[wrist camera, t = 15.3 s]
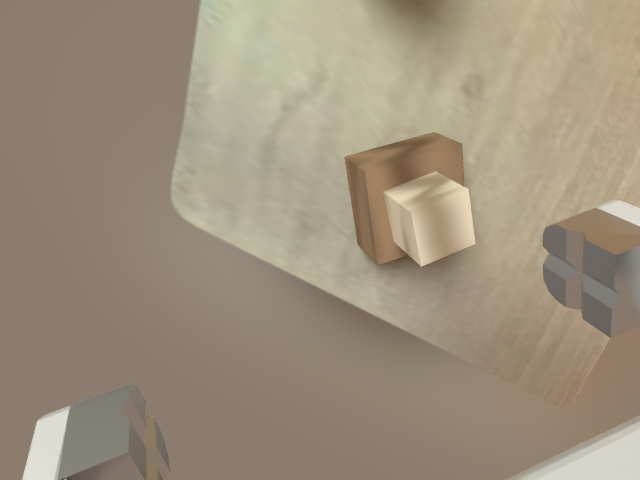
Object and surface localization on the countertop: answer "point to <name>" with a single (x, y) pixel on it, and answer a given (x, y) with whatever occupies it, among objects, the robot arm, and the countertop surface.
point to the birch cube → (430, 217)
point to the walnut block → (394, 185)
